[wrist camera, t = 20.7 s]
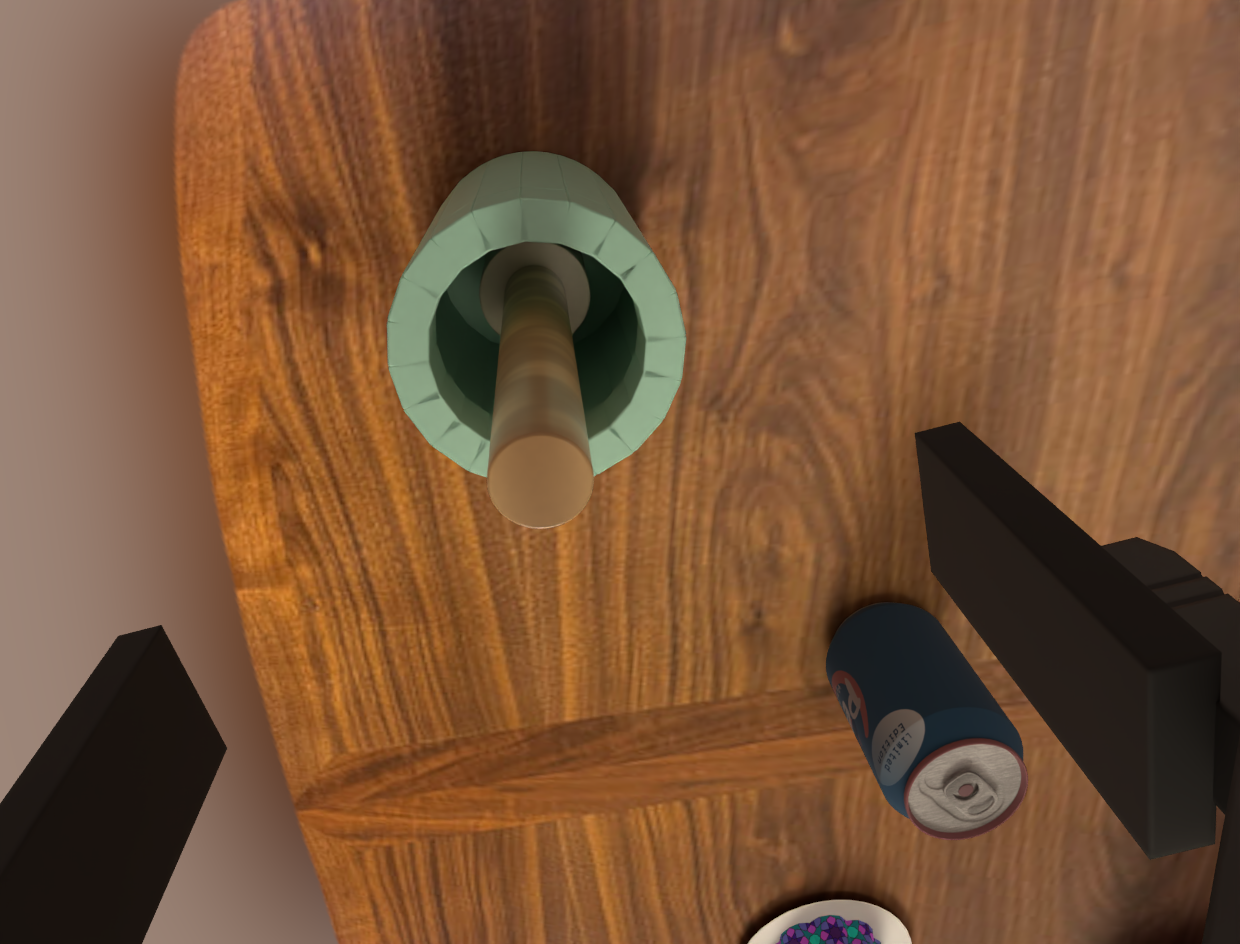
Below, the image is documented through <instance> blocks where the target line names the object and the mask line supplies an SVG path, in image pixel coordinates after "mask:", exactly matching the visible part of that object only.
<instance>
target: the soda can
mask: <svg viewBox="0 0 1240 944" xmlns="http://www.w3.org/2000/svg"><path fill="white" fill-rule="evenodd" d="M826 672H827V676H828V680H829V682H830V684H831V686H832V688H833V690H834V693H835V695H836V697H837V699H838V701H839V703H840V705H841V707H842V709H843V711H844V713H845V715H846V717H847V719H848V721H849V724H850V726H851V728H852V730H853V732H854V734H855V736H856V738H857V740H858V742H859V744H860V746H861V748H862V750H863V753H864V755H865V757H866V759H867V761H868V763H869V765H870V767H871V769H872V771H873V773H874V775H875V777H876V779H877V781H878V784H879V786H880V788H881V790H882V792H883V794H884V796H885V798H886V800H887V801H888V802H889V804H890V805H891V806H892V807H893V808H894V809H895V810H897V811H898V812H899V813H901V814H902V815H904V816H905V817H907V818H909V819H910V820H911V821H912V823H913V824H914V825H915V826H916V827H917V828H918V829H919V830H921V831H922V832H924V833H925V834H927V835H930V836H932V837H935V838H939V839H945V840H962V839H968V838H973V837H976V836H979V835H982V834H985V833H987V832H989V831H991V830H993V829H995V828H996V827H998V826H1000V825H1001V824H1002V823H1004V822H1005V821H1006V820H1007V819H1008V818H1010V817H1011V816H1012V815H1013V813H1014V812H1015V811H1016V810H1017V809H1018V807H1019V806H1020V804H1021V803H1022V801H1023V799H1024V797H1025V794H1026V791H1027V786H1028V774H1027V770H1026V767H1025V764H1024V762H1023V746H1022V741H1021V738H1020V736H1019V733H1018V732H1017V730H1016V728H1015V727H1014V726H1013V724H1012V723H1011V721H1010V720H1009V719H1008V717H1007V716H1006V714H1005V713H1004V712H1003V710H1002V709H1001V707H1000V706H999V705H998V703H997V702H996V700H995V699H994V698H993V696H992V695H991V693H990V692H989V691H988V689H987V688H986V687H985V685H984V684H983V682H982V681H981V680H980V678H979V677H978V675H977V674H976V673H975V671H974V670H973V668H972V667H971V666H970V664H969V663H968V661H967V660H966V659H965V657H964V656H963V654H962V653H961V652H960V650H959V649H958V648H957V646H956V645H955V643H954V642H953V641H952V639H951V638H950V636H949V635H948V634H947V632H946V631H945V629H944V628H943V627H942V625H941V624H940V622H939V621H938V620H937V619H936V618H935V617H934V616H932V615H931V614H930V613H928V612H927V611H925V610H923V609H921V608H919V607H916V606H913V605H908V604H903V603H892V602H882V603H875V604H871V605H868V606H865V607H863V608H861V609H859V610H857V611H856V612H854V613H853V614H851V615H850V616H849V617H848V618H846V619H845V620H844V621H843V623H842V624H841V625H840V626H839V628H838V629H837V631H836V633H835V635H834V637H833V639H832V641H831V644H830V646H829V649H828V653H827V658H826Z"/></svg>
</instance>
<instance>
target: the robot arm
mask: <svg viewBox="0 0 1240 944" xmlns="http://www.w3.org/2000/svg"><path fill="white" fill-rule="evenodd" d="M915 439H916V447H917V456H918V464H919V473H920V481H921V490H922V498H923V507H924V515H925V524H926V532H927V541H928V549H929V557H930V566H931V572H932V573H933V574H934V576H935V577H936V578H937V580H938V581H939V582H940V584H941V585H942V586H943V588H944V589H945V590H946V592H947V593H948V594H949V595H950V597H951V598H952V599H953V601H954V602H955V603H956V605H957V606H958V607H959V609H960V610H961V611H962V613H963V614H964V615H965V617H966V618H967V619H968V621H969V622H970V623H971V625H972V626H973V627H974V628H975V630H976V631H977V632H978V634H979V635H980V636H981V638H982V639H983V640H984V642H985V643H986V644H987V646H988V647H989V648H990V650H991V651H992V652H993V654H994V655H995V656H996V657H997V659H998V660H999V661H1000V663H1001V664H1002V665H1003V667H1004V668H1005V669H1006V671H1007V672H1008V673H1009V675H1010V676H1011V677H1012V679H1013V680H1014V681H1015V683H1016V684H1017V685H1018V687H1019V688H1020V689H1021V690H1022V692H1023V693H1024V694H1025V696H1026V697H1027V698H1028V700H1029V701H1030V702H1031V704H1032V705H1033V706H1034V708H1035V709H1036V710H1037V712H1038V713H1039V714H1040V716H1041V717H1042V718H1043V719H1044V721H1045V722H1046V723H1047V725H1048V726H1049V727H1050V729H1051V730H1052V731H1053V733H1054V734H1055V735H1056V737H1057V738H1058V739H1059V741H1060V742H1061V743H1062V745H1063V746H1064V747H1065V749H1066V750H1067V751H1068V752H1069V754H1070V755H1071V756H1072V758H1073V759H1074V760H1075V762H1076V763H1077V764H1078V766H1079V767H1080V768H1081V770H1082V771H1083V772H1084V774H1085V775H1086V776H1087V778H1088V779H1089V780H1090V781H1091V783H1092V784H1093V785H1094V787H1095V788H1096V789H1097V791H1098V792H1099V793H1100V795H1101V796H1102V797H1103V799H1104V800H1105V801H1106V803H1107V804H1108V805H1109V807H1110V808H1111V809H1112V810H1113V812H1114V813H1115V814H1116V816H1117V817H1118V818H1119V820H1120V821H1121V822H1122V824H1123V825H1124V826H1125V828H1126V829H1127V830H1128V832H1129V833H1130V834H1131V836H1132V837H1133V838H1134V840H1135V841H1136V842H1137V843H1138V845H1139V846H1140V847H1141V849H1142V850H1143V851H1144V853H1145V854H1146V855H1147V857H1148V858H1149V859H1150V860H1151V859H1155V858H1159V857H1163V856H1168V855H1172V854H1176V853H1180V852H1184V851H1188V850H1192V849H1196V848H1200V847H1205V846H1209V845H1213V844H1215V832H1216V805H1217V806H1218V808H1219V809H1220V810H1221V811H1222V812H1223V813H1224V814H1225V819H1224V825H1223V830H1222V836H1221V841H1220V847H1219V852H1218V858H1217V863H1216V869H1215V874H1214V880H1213V885H1212V891H1211V896H1210V902H1209V907H1208V913H1207V918H1206V924H1205V929H1204V935H1203V940H1202V944H1240V603H1239V602H1238V601H1237V600H1235V599H1234V598H1233V597H1232V596H1230V595H1229V594H1224V593H1223V590H1222V589H1221V588H1220V587H1219V586H1218V585H1216V584H1215V583H1214V582H1212V581H1211V580H1210V579H1209V578H1207V577H1202V575H1201V572H1200V571H1199V570H1197V569H1196V568H1195V567H1193V566H1192V565H1191V564H1190V563H1188V562H1187V561H1186V560H1185V559H1183V558H1182V557H1181V556H1179V555H1178V554H1177V553H1176V552H1174V551H1172V550H1169V549H1167V548H1164V547H1161V546H1159V545H1156V544H1153V543H1151V542H1148V541H1146V540H1143V539H1140V538H1138V537H1135V538H1131V539H1127V540H1123V541H1119V542H1115V543H1111V544H1107V545H1103V546H1100V545H1099V544H1098V543H1097V542H1096V541H1095V540H1093V539H1092V538H1091V537H1090V536H1089V535H1088V534H1087V533H1086V532H1084V531H1083V530H1082V529H1081V528H1080V527H1079V526H1078V525H1076V524H1075V523H1074V522H1073V521H1072V520H1071V519H1070V518H1068V517H1067V516H1066V515H1065V514H1064V513H1063V512H1062V511H1061V510H1059V509H1058V508H1057V507H1056V506H1055V505H1054V504H1053V503H1051V502H1050V501H1049V500H1048V499H1047V498H1046V497H1045V496H1043V495H1042V494H1041V493H1040V492H1039V491H1038V490H1037V489H1036V488H1034V487H1033V486H1032V485H1031V484H1030V483H1029V482H1028V481H1026V480H1025V479H1024V478H1023V477H1022V476H1021V475H1020V474H1018V473H1017V472H1016V471H1015V470H1014V469H1013V468H1012V467H1011V466H1009V465H1008V464H1007V463H1006V462H1005V461H1004V460H1003V459H1001V458H1000V457H999V456H998V455H997V454H996V453H995V452H993V451H992V450H991V449H990V448H989V447H988V446H987V445H986V444H984V443H983V442H982V441H981V440H980V439H979V438H978V437H976V436H975V435H974V434H973V433H972V432H971V431H970V430H968V429H967V428H966V427H965V426H964V425H963V424H962V423H961V422H957V423H953V424H949V425H945V426H941V427H937V428H933V429H929V430H925V431H921V432H917V433H915ZM226 750H227V747H226V745H225V744H224V741H223V740H222V738H221V736H220V734H219V732H218V730H217V728H216V727H215V725H214V723H213V721H212V719H211V717H210V715H209V713H208V711H207V710H206V708H205V706H204V704H203V702H202V700H201V698H200V697H199V695H198V693H197V691H196V689H195V687H194V685H193V683H192V681H191V680H190V678H189V676H188V674H187V672H186V670H185V668H184V667H183V665H182V663H181V661H180V659H179V657H178V655H177V653H176V652H175V650H174V648H173V646H172V644H171V642H170V640H169V639H168V637H167V635H166V633H165V631H164V629H163V627H162V625H160V626H156V627H152V628H148V629H144V630H140V631H136V632H132V633H128V634H124V635H120V636H118V637H117V639H116V640H115V641H114V643H113V644H112V646H111V647H110V648H109V650H108V651H107V653H106V654H105V656H104V657H103V658H102V660H101V661H100V663H99V664H98V666H97V667H96V668H95V670H94V671H93V673H92V674H91V675H90V677H89V678H88V680H87V681H86V683H85V684H84V686H83V687H82V688H81V690H80V691H79V693H78V694H77V695H76V697H75V698H74V700H73V701H72V702H71V704H70V706H69V707H68V708H67V710H66V711H65V713H64V714H63V715H62V717H61V718H60V720H59V721H58V722H57V724H56V726H55V727H54V728H53V729H52V731H51V732H50V734H49V735H48V737H47V738H46V739H45V741H44V742H43V744H42V745H41V747H40V748H39V749H38V751H37V752H36V754H35V755H34V757H33V758H32V759H31V761H30V762H29V764H28V765H27V766H26V768H25V769H24V771H23V772H22V774H21V775H20V776H19V778H18V779H17V781H16V782H15V784H14V785H13V786H12V788H11V789H10V791H9V792H8V793H7V795H6V796H5V798H4V799H3V801H2V802H1V803H0V944H142V942H143V940H144V938H145V935H146V933H147V931H148V929H149V926H150V924H151V922H152V919H153V917H154V915H155V913H156V910H157V908H158V906H159V903H160V901H161V899H162V896H163V894H164V892H165V890H166V887H167V885H168V883H169V880H170V878H171V876H172V873H173V871H174V869H175V867H176V864H177V862H178V860H179V857H180V855H181V853H182V851H183V848H184V846H185V844H186V841H187V839H188V837H189V835H190V832H191V830H192V828H193V825H194V823H195V821H196V818H197V816H198V814H199V811H200V809H201V807H202V804H203V802H204V800H205V798H206V795H207V793H208V791H209V789H210V786H211V784H212V781H213V779H214V777H215V775H216V773H217V770H218V768H219V766H220V763H221V761H222V759H223V756H224V754H225V752H226Z"/></svg>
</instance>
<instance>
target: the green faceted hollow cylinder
mask: <svg viewBox="0 0 1240 944" xmlns="http://www.w3.org/2000/svg"><path fill="white" fill-rule="evenodd" d="M523 242H538V243H554V244H562V245H565V246H567V247H570V248H572V249H575V250H577V251H580V252H581V253H582V257H583V261H584V265H585V269H586V272H587V276H588V280H589V285H590V304H589V309H588V312H587V315H586V317H585V319H584V321H583V323H582V324H581V326H580V327H579V328H578V329H577V331H576V332H575V333H574V334H573V335H572V338H573V345H574V351H575V358H576V364H577V370H578V377H579V383H580V390H581V396H582V403H583V409H584V415H585V422H586V428H587V435H588V441H589V448H590V454H591V460H592V467H593V473H594V476H596V474H600V473H601V472H603V471H604V470H606V469H608V468H609V467H611V466H613V465H614V464H616V463H618V462H619V461H621V460H623V459H624V458H626V457H628V456H629V455H631V454H632V453H633V451H634V452H635V451H636V450H637V449H638V448H639V447H640V446H641V445H642V444H643V442H644V441H645V440H646V439H647V438H648V437H649V436H650V435H651V433H652V432H653V431H654V430H655V429H656V428H657V427H658V426H659V425H660V423H661V422H662V419H664V418H665V416H666V414H667V412H668V410H669V407H670V405H671V403H672V401H673V398H674V396H675V394H676V392H677V390H678V387H679V385H680V383H681V379H682V373H683V364H684V355H685V345H686V336H685V335H686V331H685V327H684V322H683V318H682V313H681V309H680V304H679V300H678V295H677V292H676V289H675V287H674V286H673V284H672V282H671V281H670V279H669V277H668V276H667V274H666V272H665V271H664V269H663V267H662V266H661V264H660V262H659V261H658V259H657V257H656V256H655V254H654V252H653V251H652V249H651V248H650V246H649V244H648V243H647V241H646V240H645V238H644V236H643V235H642V233H641V232H640V230H639V228H638V227H637V225H636V224H635V222H634V220H633V219H632V217H631V216H630V214H629V213H628V211H627V209H626V208H625V206H624V205H623V203H622V201H621V200H620V198H619V197H618V195H617V193H616V192H615V191H614V189H613V188H611V187H610V186H609V185H608V184H607V183H606V182H605V181H604V180H603V179H602V178H601V177H600V176H599V175H597V174H596V173H595V172H593V171H592V170H591V169H589V168H588V167H586V166H584V165H582V164H581V163H579V162H577V161H575V160H572V159H570V158H567V157H564V156H562V155H557V154H553V153H548V152H537V151H528V152H517V153H512V154H506V155H503V156H500V157H497V158H494V159H492V160H490V161H488V162H486V163H484V164H482V165H480V166H479V167H477V168H476V169H474V170H473V171H472V172H470V173H469V174H468V175H467V176H465V177H464V178H463V179H461V181H459V183H458V184H457V185H456V187H455V188H454V189H453V190H452V192H451V193H450V194H449V196H448V197H447V199H446V200H445V201H444V203H443V204H442V205H441V207H440V209H439V210H438V212H437V214H436V216H435V217H434V219H433V221H432V223H431V224H430V226H429V228H428V230H427V232H426V233H425V235H424V237H423V239H422V240H421V242H420V244H419V246H418V247H417V249H416V251H415V253H414V255H413V256H412V258H411V260H410V262H409V263H408V265H407V267H406V269H405V270H404V272H403V274H402V276H401V278H400V281H399V284H398V287H397V290H396V293H395V297H394V300H393V303H392V306H391V309H390V312H389V315H388V322H387V350H388V365H389V368H388V369H389V371H390V374H391V377H392V380H393V382H394V385H395V388H396V391H397V394H398V396H399V399H400V402H401V405H402V407H403V409H404V411H405V413H406V414H407V415H408V416H409V418H410V419H411V420H412V422H413V423H414V424H415V425H416V427H417V428H418V429H419V431H420V432H421V433H422V435H423V436H424V437H425V438H426V440H427V441H428V442H429V444H430V445H432V446H433V447H434V448H436V449H437V450H438V451H440V452H441V453H443V454H444V455H446V456H447V457H448V458H450V459H451V460H453V461H454V462H456V463H457V464H458V465H460V466H461V467H463V468H464V469H466V470H468V471H469V472H472V473H475V474H478V475H481V476H484V477H487V470H488V460H489V450H490V439H491V429H492V419H493V408H494V398H495V388H496V377H497V367H498V357H499V346H500V335H498V334H497V333H496V332H495V331H494V330H493V329H492V327H491V326H490V325H489V323H488V322H487V320H486V318H485V316H484V314H483V311H482V309H481V304H480V298H479V287H480V281H481V276H482V271H483V267H484V262H485V257H486V254H487V253H488V252H490V251H492V250H496V249H500V248H504V247H507V246H511V245H515V244H519V243H523Z"/></svg>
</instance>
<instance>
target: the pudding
mask: <svg viewBox="0 0 1240 944" xmlns="http://www.w3.org/2000/svg"><path fill="white" fill-rule="evenodd" d="M748 944H912V942H911V938H910V935H909V933H908V931H907V929H906V928H905V926H904V925H903V924H902V922H901V921H900V920H899V919H898V918H897V917H895V916H894V915H893V914H892V913H890V912H889V911H887V910H885V909H883V908H881V907H879V906H876V905H873V904H870V903H866V902H861V901H855V900H829V901H820V902H816V903H812V904H808V905H804V906H801V907H798V908H796V909H793V910H791V911H788V912H786V913H784V914H782V915H781V916H779V917H777V918H775V919H773V920H772V921H771V922H769V923H768V924H767V925H765V926H764V927H763V928H761V929H760V930H759V931H758V932H757V933H756V934H755V935H754V936H753V937H752V938H751V940H750V941H749V943H748Z"/></svg>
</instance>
